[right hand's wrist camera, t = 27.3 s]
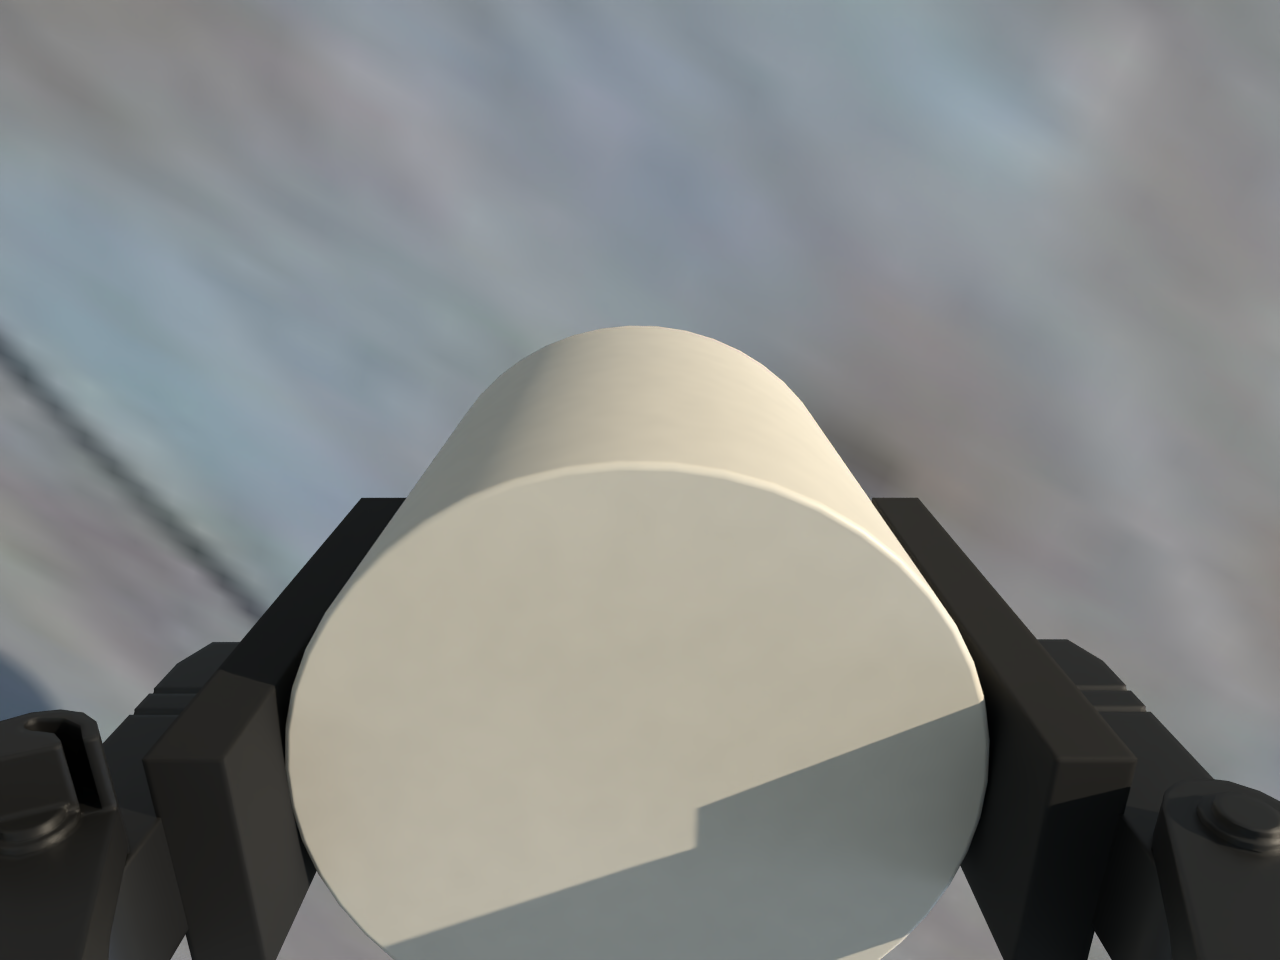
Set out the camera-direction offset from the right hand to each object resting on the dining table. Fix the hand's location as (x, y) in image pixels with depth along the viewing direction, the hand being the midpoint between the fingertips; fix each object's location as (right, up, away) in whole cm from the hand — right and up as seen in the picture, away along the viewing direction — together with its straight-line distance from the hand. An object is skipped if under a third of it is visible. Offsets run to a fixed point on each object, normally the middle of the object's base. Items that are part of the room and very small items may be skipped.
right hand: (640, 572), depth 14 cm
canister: (0, +1, +2) cm, 2 cm away
